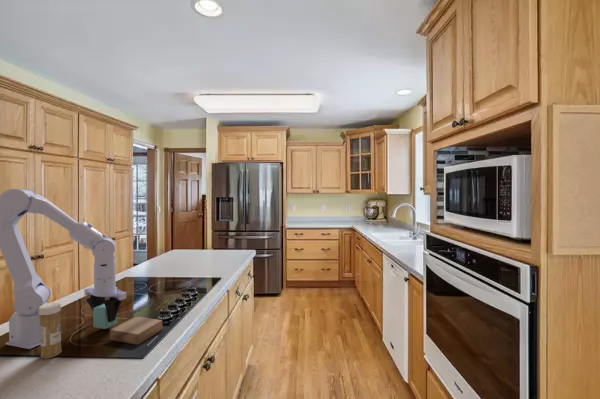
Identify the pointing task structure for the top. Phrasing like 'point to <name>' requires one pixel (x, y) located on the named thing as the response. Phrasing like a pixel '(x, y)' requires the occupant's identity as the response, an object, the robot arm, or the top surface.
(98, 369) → the top surface
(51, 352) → the sprinkles bottle
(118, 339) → the walnut base
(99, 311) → the teal block
